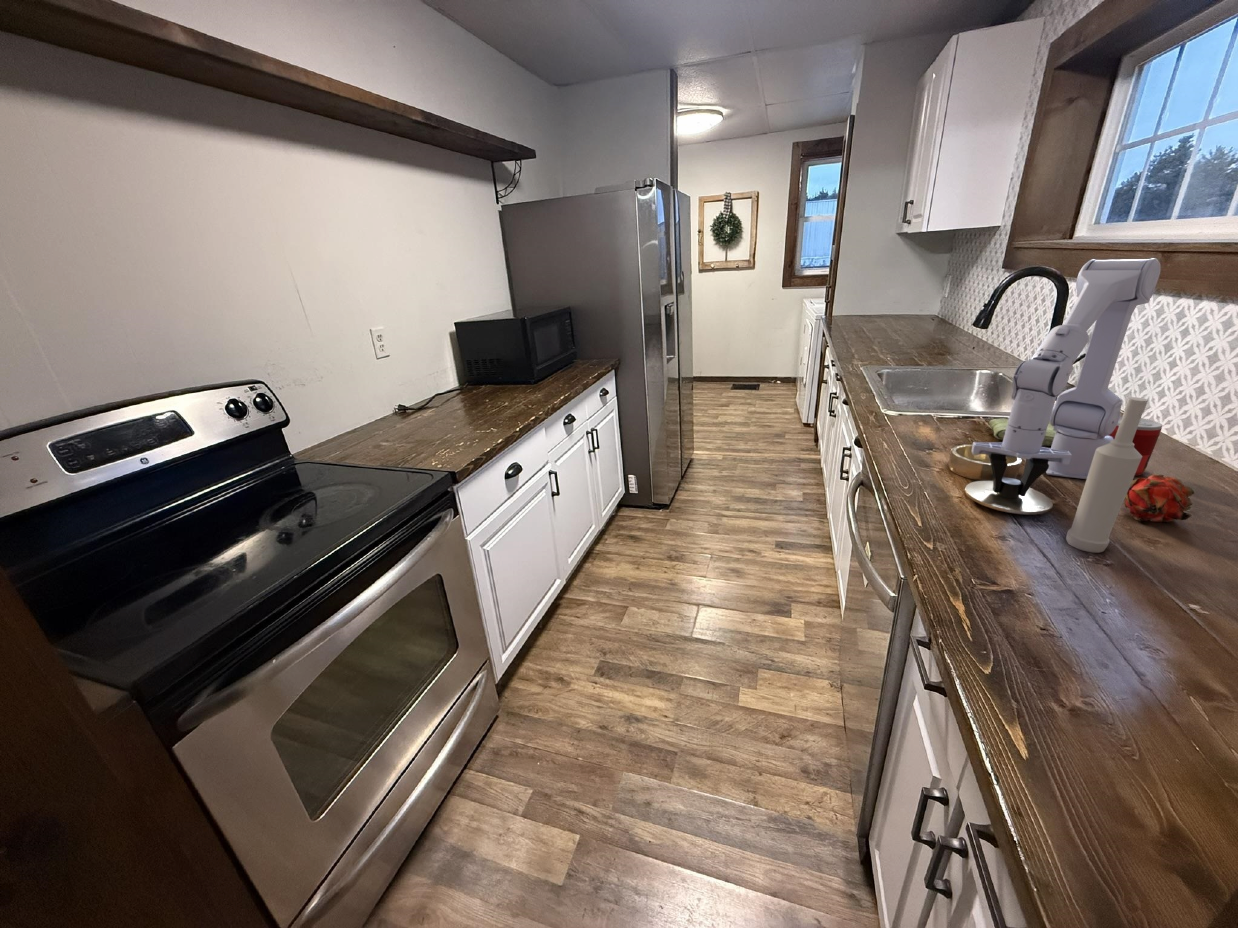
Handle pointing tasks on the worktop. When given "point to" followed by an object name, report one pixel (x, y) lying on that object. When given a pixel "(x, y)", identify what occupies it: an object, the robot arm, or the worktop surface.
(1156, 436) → the canned food
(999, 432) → the washcloth
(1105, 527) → the bottle
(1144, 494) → the dragon fruit
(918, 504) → the worktop surface
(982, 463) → the pot
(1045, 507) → the lid
